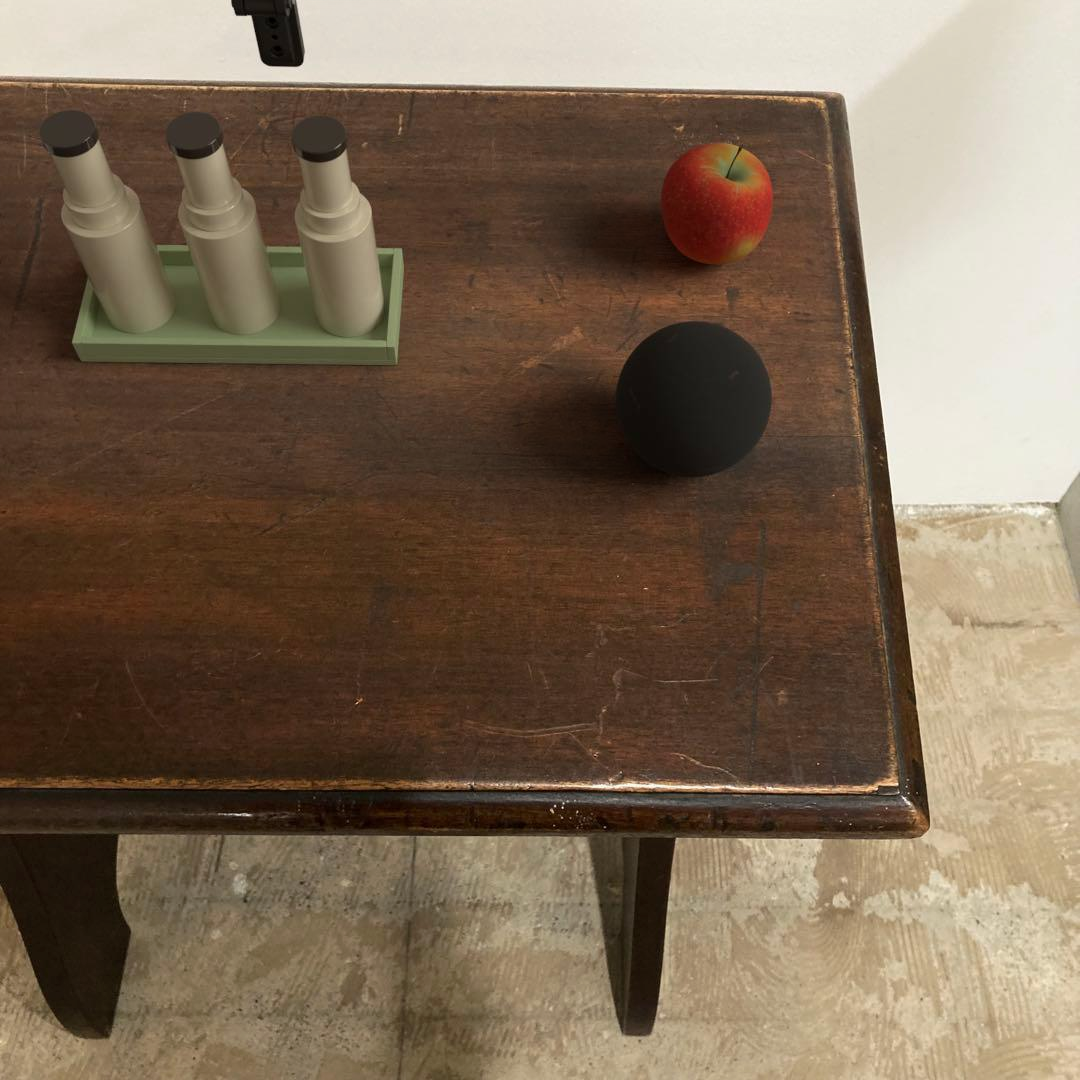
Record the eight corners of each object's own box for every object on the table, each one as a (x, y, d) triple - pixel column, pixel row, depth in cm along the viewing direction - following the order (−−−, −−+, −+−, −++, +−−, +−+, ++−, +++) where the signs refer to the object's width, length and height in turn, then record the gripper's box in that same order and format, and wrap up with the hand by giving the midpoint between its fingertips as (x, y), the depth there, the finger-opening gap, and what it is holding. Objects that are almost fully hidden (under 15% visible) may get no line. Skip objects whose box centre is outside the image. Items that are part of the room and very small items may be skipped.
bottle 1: (99, 333, 81) (15, 156, 67) (112, 279, 84) (33, 98, 70) (170, 334, 81) (101, 158, 68) (181, 280, 84) (116, 100, 70)
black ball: (583, 462, 78) (592, 370, 69) (654, 363, 82) (671, 265, 73) (714, 530, 75) (740, 444, 67) (780, 425, 80) (813, 331, 71)
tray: (81, 362, 81) (71, 342, 79) (105, 263, 85) (96, 243, 84) (397, 365, 81) (394, 346, 80) (404, 267, 86) (401, 247, 84)
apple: (662, 202, 90) (678, 96, 81) (764, 219, 89) (792, 114, 80) (646, 278, 86) (661, 176, 77) (753, 296, 85) (781, 195, 77)
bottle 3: (312, 337, 82) (272, 162, 68) (318, 283, 84) (281, 104, 70) (382, 338, 82) (357, 163, 68) (387, 284, 84) (363, 105, 70)
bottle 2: (206, 334, 82) (144, 158, 68) (215, 281, 84) (157, 101, 70) (276, 335, 82) (229, 160, 68) (284, 282, 84) (239, 102, 70)
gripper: (164, -424, 51) (238, -73, 65) (106, -254, 44) (203, 98, 58) (335, -419, 51) (371, -70, 65) (304, -249, 44) (352, 101, 58)
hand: (292, 9), depth 61 cm, fingers open, 8 cm apart
